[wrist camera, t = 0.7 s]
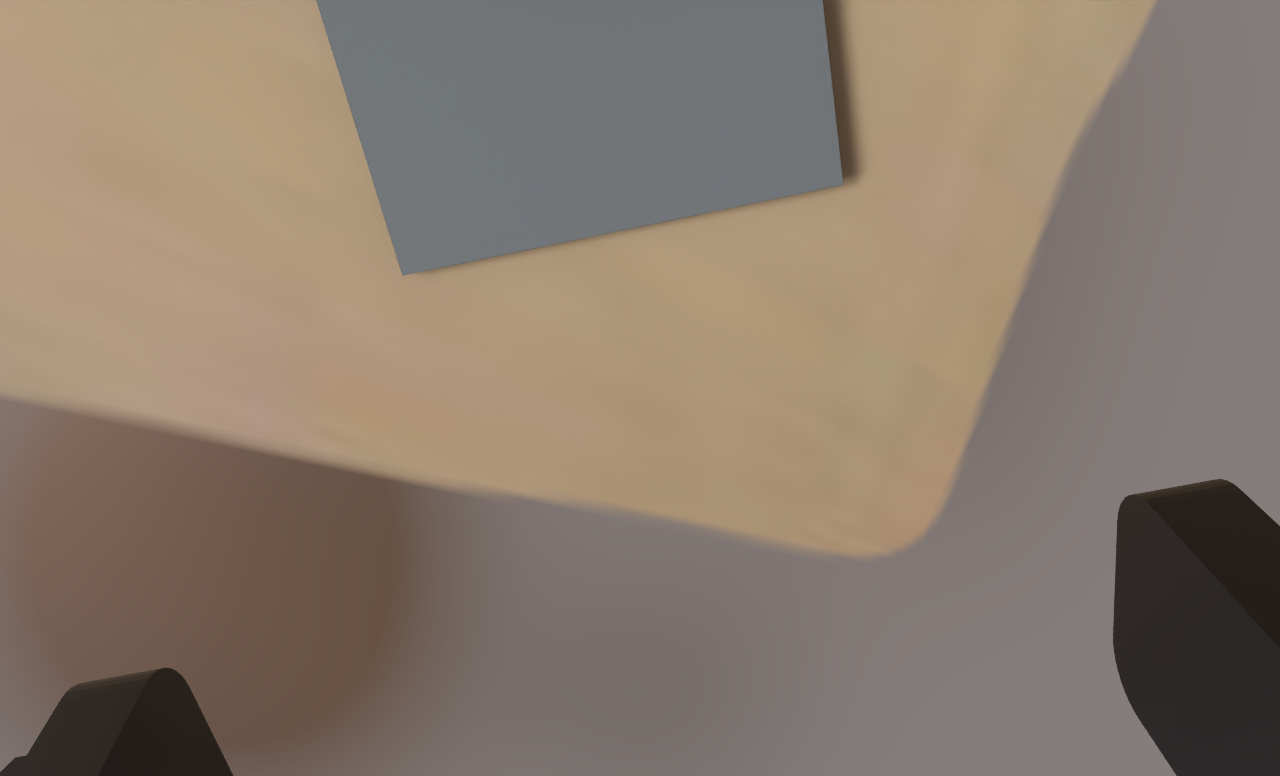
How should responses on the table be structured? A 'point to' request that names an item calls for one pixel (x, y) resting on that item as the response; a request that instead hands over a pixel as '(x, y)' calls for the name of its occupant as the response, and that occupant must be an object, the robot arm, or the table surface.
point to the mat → (579, 114)
